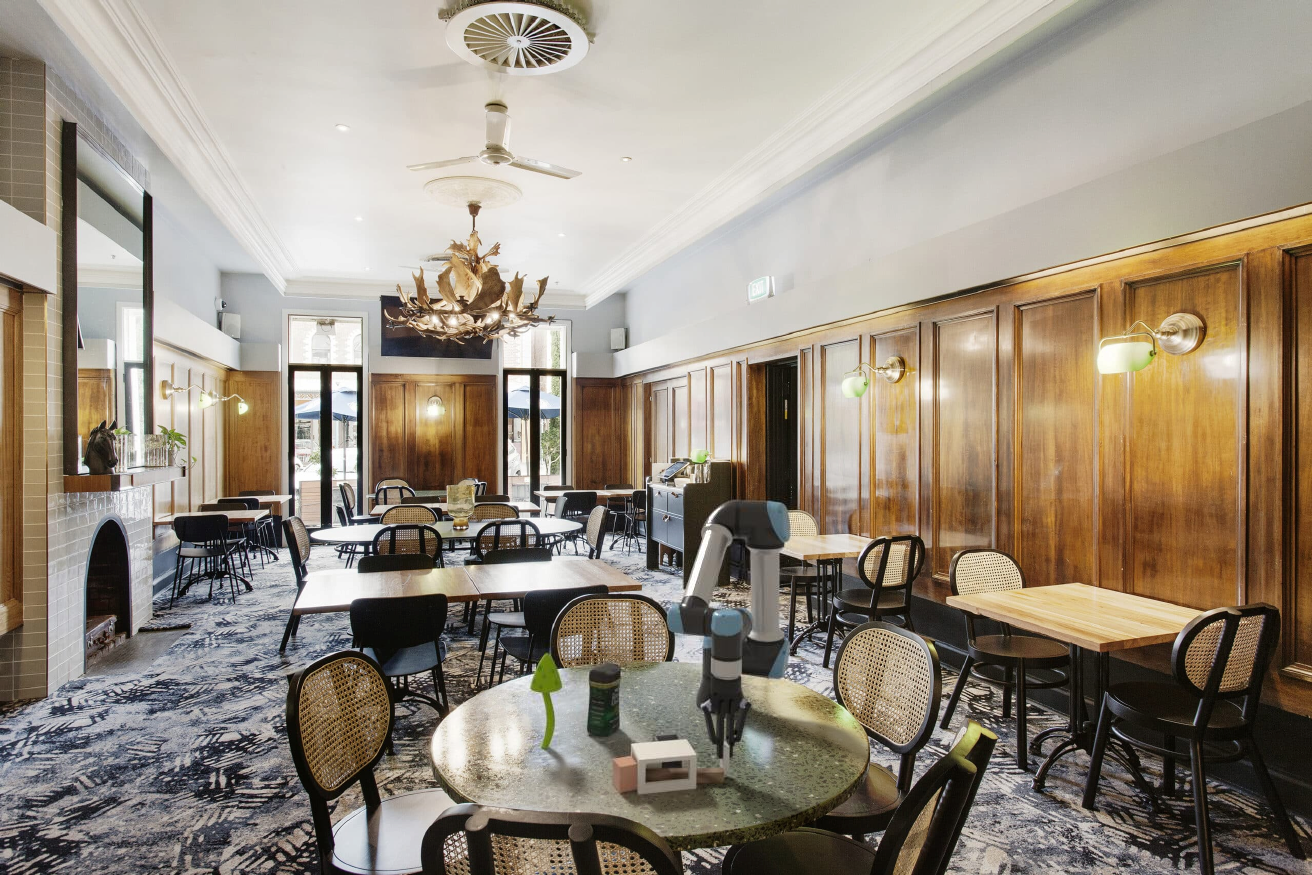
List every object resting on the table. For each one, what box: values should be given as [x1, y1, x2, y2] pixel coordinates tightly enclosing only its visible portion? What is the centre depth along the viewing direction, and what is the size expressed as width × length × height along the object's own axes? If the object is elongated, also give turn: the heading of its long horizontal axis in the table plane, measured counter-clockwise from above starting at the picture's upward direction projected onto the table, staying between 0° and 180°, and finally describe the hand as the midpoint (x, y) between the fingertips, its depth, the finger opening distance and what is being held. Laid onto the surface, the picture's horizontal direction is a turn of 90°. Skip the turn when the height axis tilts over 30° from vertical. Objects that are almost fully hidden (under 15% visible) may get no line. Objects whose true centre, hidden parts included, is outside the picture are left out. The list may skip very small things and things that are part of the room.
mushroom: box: [529, 652, 563, 750], centre depth 188 cm, size 8×8×25 cm
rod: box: [637, 766, 725, 784], centre depth 171 cm, size 22×2×2 cm, turn 95°
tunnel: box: [630, 732, 698, 795], centre depth 173 cm, size 14×15×8 cm
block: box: [611, 755, 638, 794], centre depth 168 cm, size 4×4×6 cm
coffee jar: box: [586, 661, 622, 738], centre depth 199 cm, size 10×8×19 cm
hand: (724, 770), depth 174 cm, fingers closed
